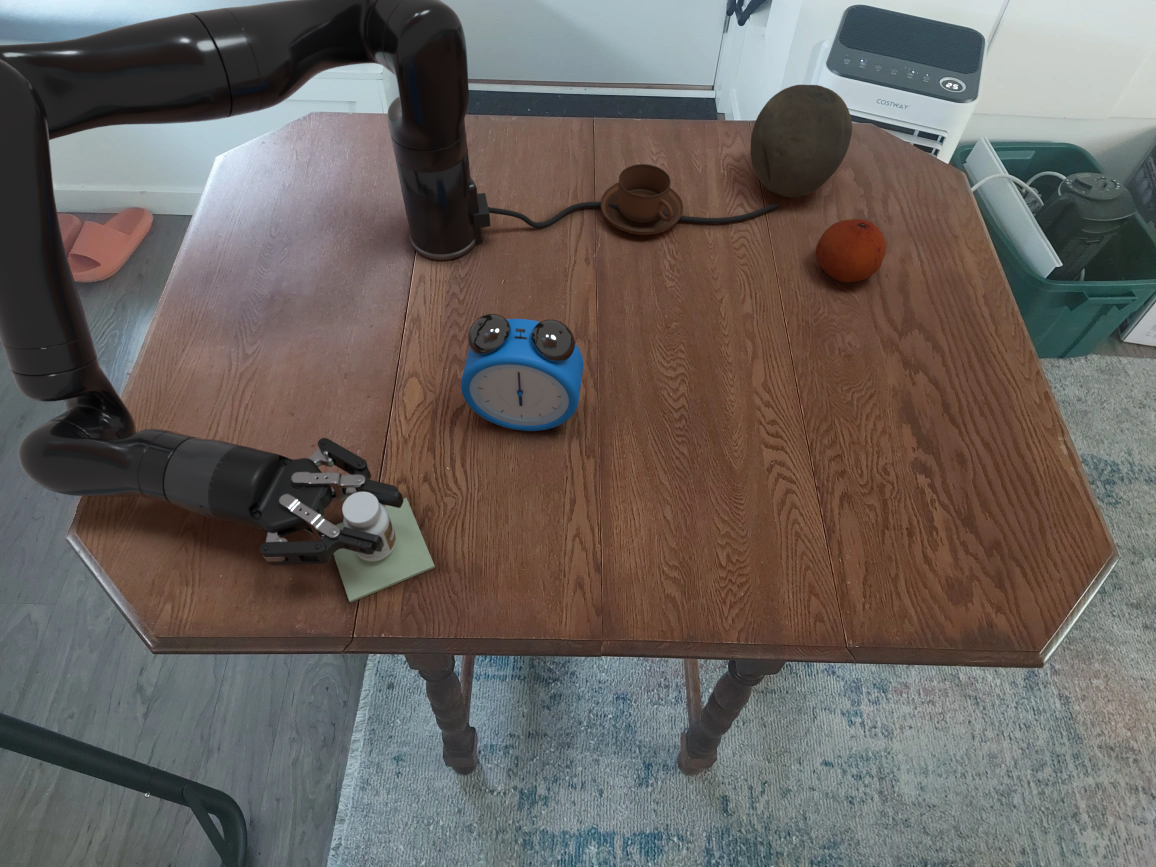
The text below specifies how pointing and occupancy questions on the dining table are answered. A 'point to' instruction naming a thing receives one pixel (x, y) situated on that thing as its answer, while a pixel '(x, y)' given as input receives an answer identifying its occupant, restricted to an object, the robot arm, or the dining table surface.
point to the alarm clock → (522, 372)
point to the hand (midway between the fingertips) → (390, 521)
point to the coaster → (386, 558)
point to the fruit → (851, 250)
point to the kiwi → (800, 139)
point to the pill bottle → (369, 522)
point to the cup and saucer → (642, 201)
